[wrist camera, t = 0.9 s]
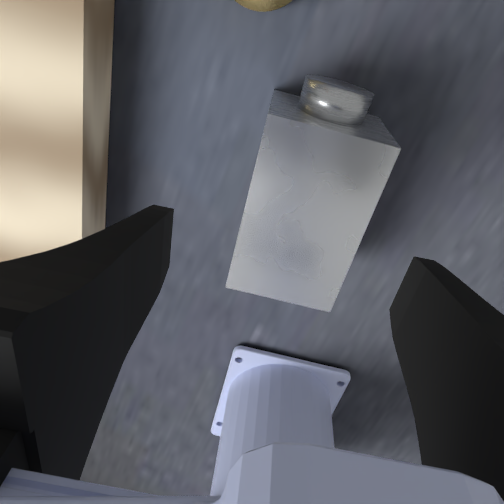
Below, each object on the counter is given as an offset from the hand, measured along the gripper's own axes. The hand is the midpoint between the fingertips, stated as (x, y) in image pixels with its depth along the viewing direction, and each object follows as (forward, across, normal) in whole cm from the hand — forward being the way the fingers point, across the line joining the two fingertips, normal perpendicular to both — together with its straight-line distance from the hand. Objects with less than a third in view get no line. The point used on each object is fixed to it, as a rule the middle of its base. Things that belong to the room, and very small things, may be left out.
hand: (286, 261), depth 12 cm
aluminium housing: (+10, -1, +1) cm, 10 cm away
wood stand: (+10, +14, +1) cm, 17 cm away
